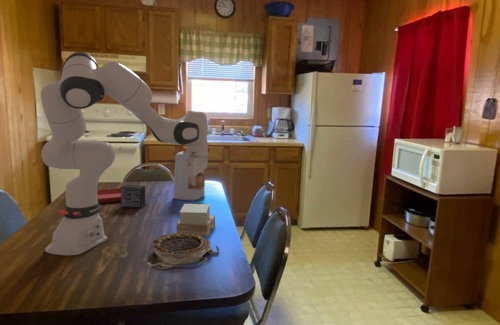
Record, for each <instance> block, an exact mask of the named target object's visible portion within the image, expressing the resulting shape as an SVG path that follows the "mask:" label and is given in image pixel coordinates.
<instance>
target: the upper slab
mask: <svg viewBox="0 0 500 325" xmlns="http://www.w3.org/2000/svg"><path fill="white" fill-rule="evenodd" d="M210 207H211V206H210V204H209V203H208V204H207V203H206V204H205V203H204V204H202V203H201V204H200V203H184V204H183V206H182V207H181V209H180V210H179V221H180V224H207V221H208V218H209V215H210Z"/></svg>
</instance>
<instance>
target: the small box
mask: <svg viewBox="0 0 500 325" xmlns="http://www.w3.org/2000/svg"><path fill="white" fill-rule="evenodd" d="M120 189H121V201H120V206H121V208H127V209H142V208H144V207H145V206H146V185H138V184H124V185H123V186H120Z"/></svg>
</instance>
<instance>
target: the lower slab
mask: <svg viewBox="0 0 500 325" xmlns="http://www.w3.org/2000/svg"><path fill="white" fill-rule="evenodd" d="M215 226H216V215H213V214H209V218H208V221H207V224H180V220H178V222H177V223H176V233H179V232H180V233H188V232H192V233H194V232H195V233H197V234H199V235H203V236H202V237H208V236H209V235H210V233H211V232H212V230H213V229H214V227H215Z"/></svg>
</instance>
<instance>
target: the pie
mask: <svg viewBox="0 0 500 325" xmlns="http://www.w3.org/2000/svg"><path fill="white" fill-rule="evenodd" d="M150 244H151V245H150V247H151V249H152V250H153V251H154V253H155V254H156V255H155V256H156V258H157V260H156V262H157V263H154V264H152V261H150V262H147V264H146V265H149V267H155V266H159V265H160V266H161V267H157V269H159V270H165V269H170V268H174V265H175V266H177V268H181V267H179V266H178V265H187V264H191V263H198V264H197V266H195V267H198V266H200V265H201V264H202V263H205V262H206V261H208V258H207V257H206V256H205V257H204V256H203V255H205V254H209V255H215V254H219V252H220V250H219V249H220V248H219V247H218V246H217V245H216V246H215V248H216V249H214V251H213V248H212V247H211V242H210V240H209V239H208V238H206V237H205V236H203V235H199V234H197V233H195V232H194V233H192V232H188V233H180V232H179V233H177V232H172V233H166V234H164V235H161V236H159V237H156V239H153V241H152V242H150ZM143 260H144V261H146V260H147V259H146V258H144V259H143ZM185 268H186V269H187V268H188V269H189V267H188V266H187V267H186V266H185ZM191 268H194V267H191Z"/></svg>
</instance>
